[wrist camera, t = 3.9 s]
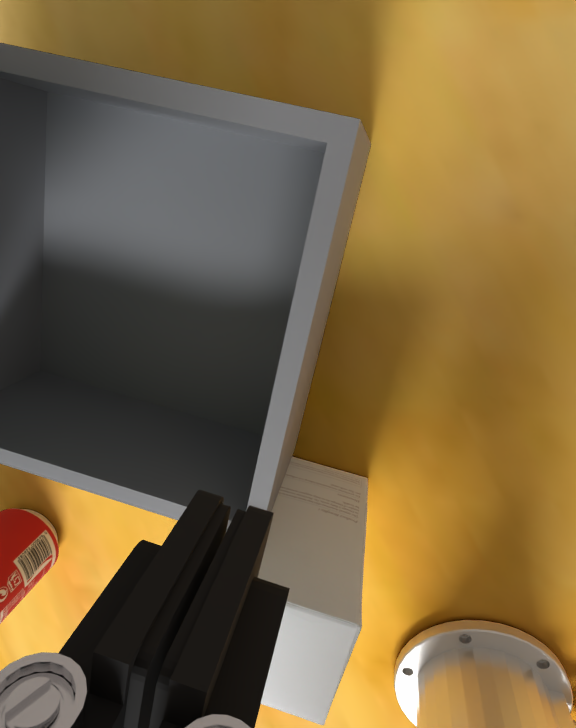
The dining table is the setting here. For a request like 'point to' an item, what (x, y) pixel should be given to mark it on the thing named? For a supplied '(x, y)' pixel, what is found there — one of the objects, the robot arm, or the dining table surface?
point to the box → (163, 278)
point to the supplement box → (315, 584)
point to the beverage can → (23, 554)
